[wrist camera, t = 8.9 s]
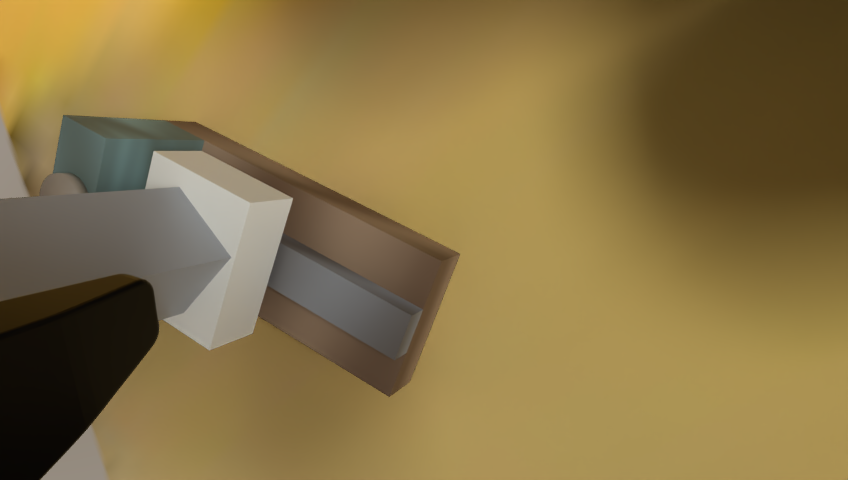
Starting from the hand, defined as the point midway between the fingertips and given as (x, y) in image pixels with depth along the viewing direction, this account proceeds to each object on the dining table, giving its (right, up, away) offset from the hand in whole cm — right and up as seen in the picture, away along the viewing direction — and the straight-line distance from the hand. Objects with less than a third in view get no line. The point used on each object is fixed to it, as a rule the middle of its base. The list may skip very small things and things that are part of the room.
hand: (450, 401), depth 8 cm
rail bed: (-5, +2, +15) cm, 16 cm away
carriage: (-7, +2, +13) cm, 15 cm away
